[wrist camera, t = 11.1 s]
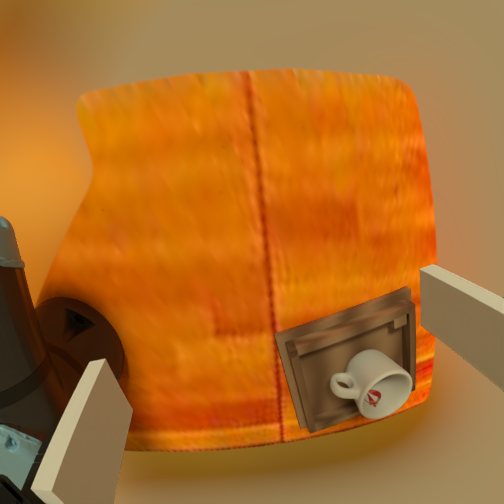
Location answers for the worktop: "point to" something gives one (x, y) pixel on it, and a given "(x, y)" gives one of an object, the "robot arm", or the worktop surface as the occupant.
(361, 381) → the cup
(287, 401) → the worktop surface
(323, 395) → the square wooden tray
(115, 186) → the worktop surface
